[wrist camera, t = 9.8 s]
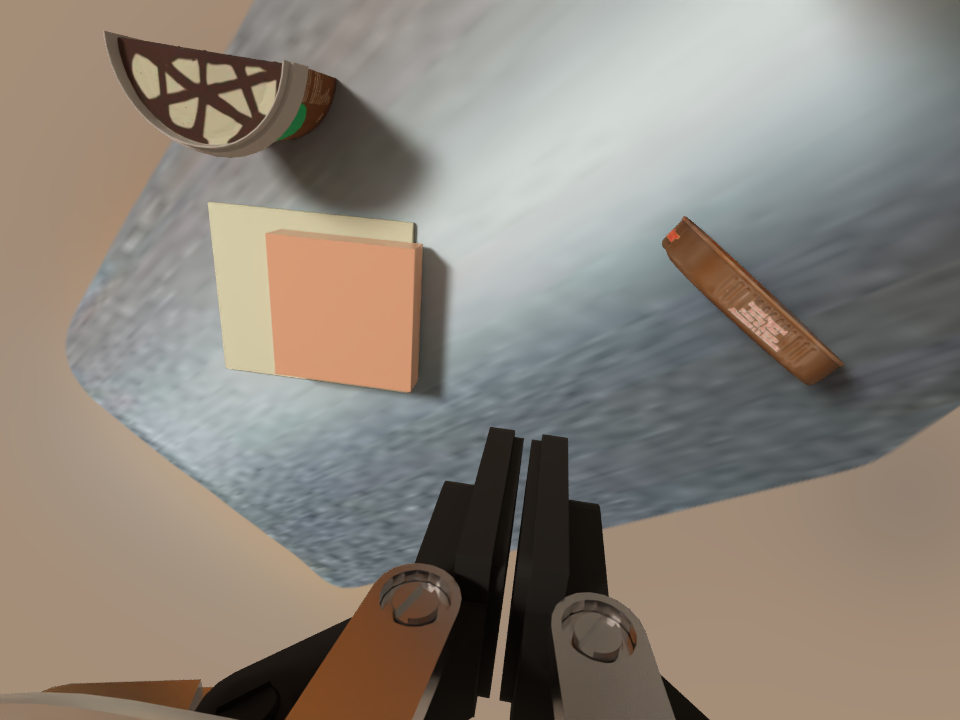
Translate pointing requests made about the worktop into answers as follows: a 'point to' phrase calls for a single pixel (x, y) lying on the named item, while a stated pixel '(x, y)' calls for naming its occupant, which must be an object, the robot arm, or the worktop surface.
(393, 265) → the tile
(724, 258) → the tin
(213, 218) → the mat
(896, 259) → the worktop surface
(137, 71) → the food container
